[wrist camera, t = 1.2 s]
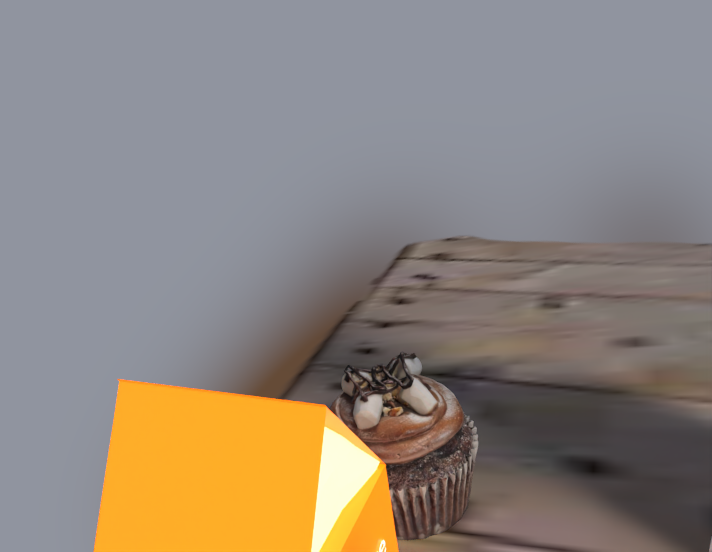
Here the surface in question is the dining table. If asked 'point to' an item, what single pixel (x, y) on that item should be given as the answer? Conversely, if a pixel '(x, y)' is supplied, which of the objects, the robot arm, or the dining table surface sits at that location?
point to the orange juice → (238, 477)
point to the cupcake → (413, 442)
